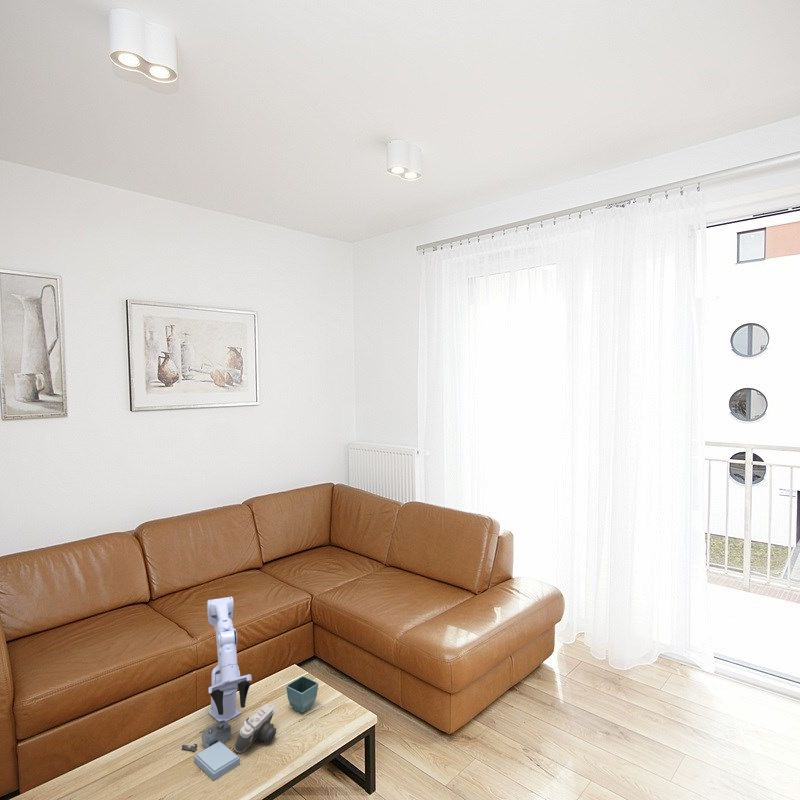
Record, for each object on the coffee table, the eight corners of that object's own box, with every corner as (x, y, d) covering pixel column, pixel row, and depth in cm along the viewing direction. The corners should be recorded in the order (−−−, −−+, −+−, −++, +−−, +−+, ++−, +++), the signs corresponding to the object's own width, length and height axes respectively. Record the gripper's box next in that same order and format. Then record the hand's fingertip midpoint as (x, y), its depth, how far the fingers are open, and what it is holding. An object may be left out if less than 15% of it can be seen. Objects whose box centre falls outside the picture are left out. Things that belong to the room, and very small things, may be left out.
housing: (202, 746, 171) (201, 728, 171) (223, 733, 177) (223, 716, 177) (208, 752, 168) (208, 734, 168) (230, 739, 174) (230, 722, 174)
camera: (229, 747, 169) (238, 723, 166) (261, 717, 183) (270, 694, 181) (250, 766, 165) (259, 742, 163) (281, 733, 180) (290, 711, 178)
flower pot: (302, 697, 198) (302, 675, 198) (319, 706, 193) (319, 682, 193) (285, 709, 191) (285, 685, 191) (301, 718, 186) (301, 693, 185)
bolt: (180, 750, 169) (180, 744, 169) (184, 746, 171) (184, 740, 171) (194, 752, 168) (194, 746, 168) (197, 748, 170) (197, 742, 170)
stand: (194, 761, 164) (194, 754, 164) (219, 747, 170) (219, 739, 170) (213, 780, 156) (213, 772, 156) (239, 764, 163) (239, 756, 163)
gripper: (203, 672, 174) (205, 717, 167) (244, 659, 175) (248, 703, 167) (212, 674, 180) (215, 717, 173) (252, 661, 181) (256, 704, 173)
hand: (231, 711), depth 170 cm, fingers open, 7 cm apart
